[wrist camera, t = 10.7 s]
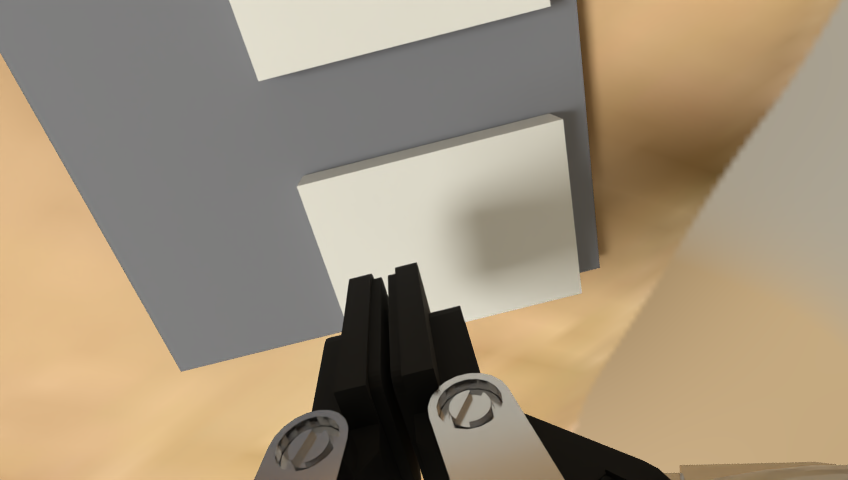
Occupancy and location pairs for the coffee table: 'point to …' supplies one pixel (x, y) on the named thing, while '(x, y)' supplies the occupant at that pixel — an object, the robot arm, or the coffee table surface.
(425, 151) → the tile
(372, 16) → the tile
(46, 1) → the mat
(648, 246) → the coffee table surface
